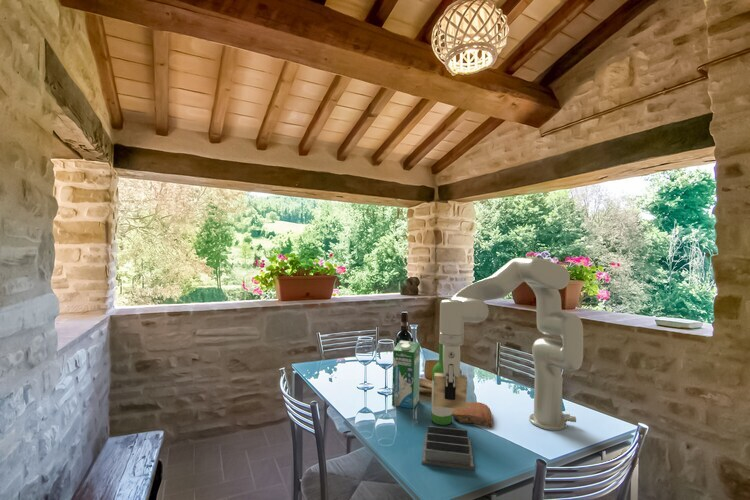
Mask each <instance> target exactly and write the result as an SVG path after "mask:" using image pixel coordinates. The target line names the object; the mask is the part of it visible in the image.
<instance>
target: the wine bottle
mask: <svg viewBox="0 0 750 500" xmlns="http://www.w3.org/2000/svg"><path fill="white" fill-rule="evenodd" d="M438 349H439V350H438V362H436V364H435V365H434V366H433V368H432V371H431V372H432V374H431V376H432V377H431V409H430V410H431V414H430V415H431V421H432V422H433V423H434V424H436V425H439V426H446V425H450V424H451V423H452V421H453V416H452V413H453V408H447V407H437V406H433V404H434V373H444V370H443V344H440V343H439V346H438Z"/></svg>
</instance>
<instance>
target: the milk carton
mask: <svg viewBox="0 0 750 500" xmlns="http://www.w3.org/2000/svg"><path fill="white" fill-rule="evenodd" d="M420 362H421V342H420V341H419V342H418V341H410V340H402V339H400V340H399V341H398V343H397V344H396V346H395V347H394V349H393V351H392V385H391V386H392V387H391V389H392V391H391V392H392V394H391V395H392V396H391V405H392V406H395V407H401V408H405V407H406V409H411V408H412V409H411V410H413V409H414V408H415V407H416V406H417V404H418V403H419V402H418V401H420V372H421V371H420V367H421V363H420ZM417 402H418V403H417Z"/></svg>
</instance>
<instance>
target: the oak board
mask: <svg viewBox="0 0 750 500" xmlns="http://www.w3.org/2000/svg"><path fill="white" fill-rule="evenodd" d="M447 376H449V375H448V374H447ZM453 376H454V375H453ZM448 380H449V379H448ZM467 380H468V377H467V375H466V374H460V378H458V377H456V376H455V387H456V390H455V400H448V399H445V386H446V377H445V376H444V373H434V404H433V406H437V407H447V408H457V409H466V403H467V390H468V389H467V388H468V381H467Z"/></svg>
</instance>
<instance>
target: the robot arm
mask: <svg viewBox="0 0 750 500" xmlns="http://www.w3.org/2000/svg"><path fill="white" fill-rule="evenodd" d="M570 281H571V276H570V272H569V270H568V269H567V267H565V266H564V265H562V264H558V263H555V262H553V261H550V260H546V259H543V258H539V257H524V256H523V257H521V256H518V257H514V258H512V259H510V260H509V261H507V262H506V263H505V264H503V266H501V267H500V268H499V269H497V271H495V272H494V273H492V274H491V275H490V276H488V277H485V278H483V279H481V280H478V281H476V282H473V283H471V284H469V285H466V286H465V287H463V288H461V289H460V290H459V291H458V292H456V293H455V294H454V295H453V296H451V298H445V299H442V300H441V301H440V304H439V331H438V332H439V335H438V337H439V338H438V342H439V343H440V344H443V370H444V376H445V377H446V386H445V399H448V400H455V390H456V387H455V376H456V377H458V378H460V375H461V346H464V337H465V336H464V334H465V333H464V332H465V331H464V327H465V326H464V325H465V323H475V324H476V323H482V322H483V321H485V320H486V319H487V318H488V316H489V314H490V313H489V312H490V310H489V307H488V304H487V303H486V302H485V301H492V300H498V299H502V298H506V297H507V296H509V294H511V293H512V292H513V291H514V290H515V289H517V288H518V287H519V286H520V285H521V284H523V283H526V285H527V286H529V287H530V289H531V290H532V291H533V293H534V295H535V298H536V299H535V301H536V328H537V330H538V331H539V332H540V333H541V334H543V335H546V336H550V337H555V338H559V339H561V340H558V339H554V338H550V337H539V338H537V339H536V340H534V342H533V343H532V347H531V351H532V352H531V353H532V358H533V365H534V389H533V390H534V391H533V393H534V394H533V413H532V414H530V415H529V423H531V424H533V425H534V426H536V427H537V428H540V429H544V430H549V431H562V430H564V429H567V422H571V423H577V417H576V416H571V414H569V413H564V412H563V374H562V371H561V370H560V369H563V370H566V371H569V372H570V371H571V372H575V371H578V370H579V369H580V368H581V367H582V363H583V360H584V326H583V322H582V320H581V318H580V316H578V315H577V314H575V313H573V312H568V311H563V309H562V297H561V293H560V292H559V290H563V289H565V288H566V287H567V286H568V285H569V284H570V283H569V282H570ZM447 374H448V375H449V376H447ZM453 375H454V376H453ZM448 379H449V380H448Z"/></svg>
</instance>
